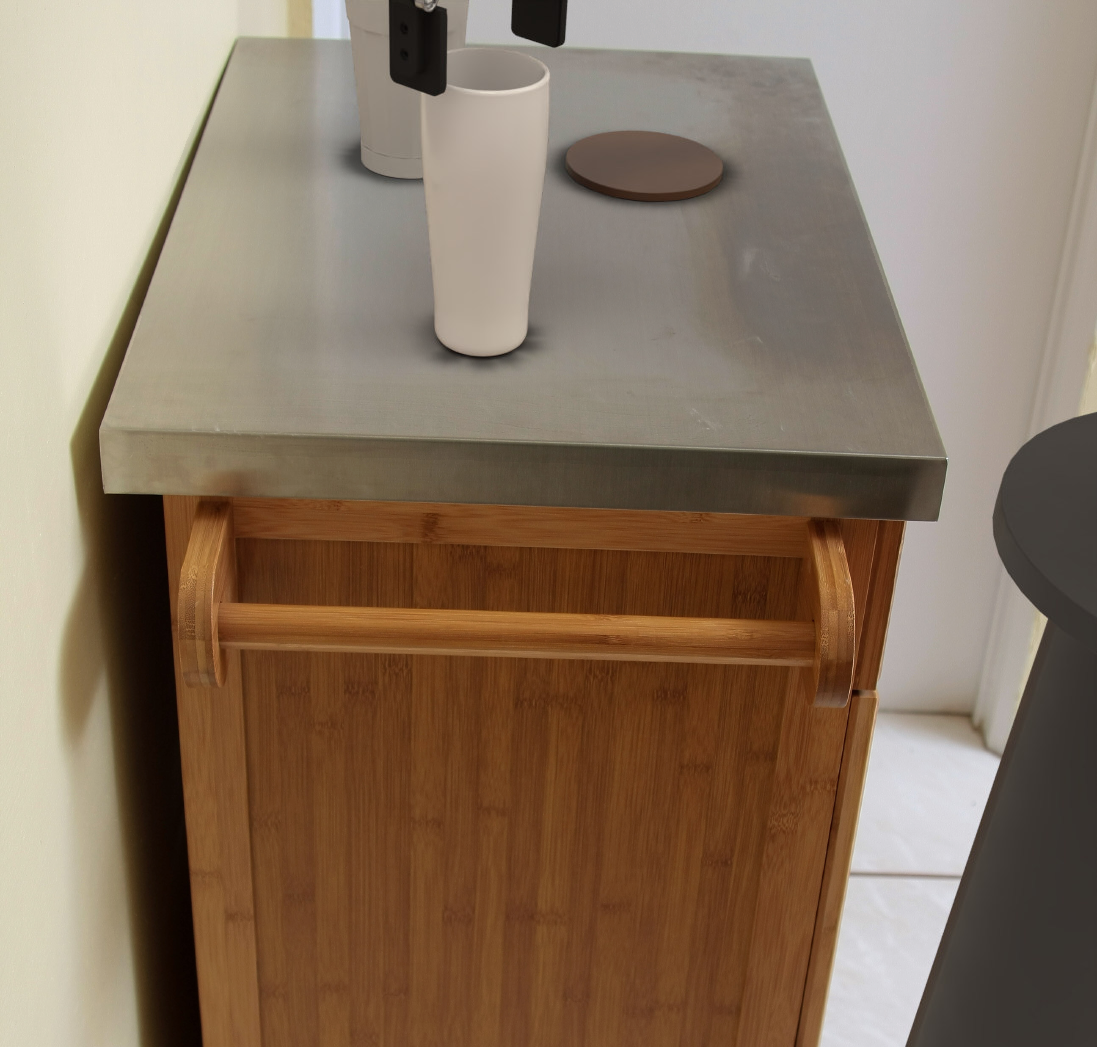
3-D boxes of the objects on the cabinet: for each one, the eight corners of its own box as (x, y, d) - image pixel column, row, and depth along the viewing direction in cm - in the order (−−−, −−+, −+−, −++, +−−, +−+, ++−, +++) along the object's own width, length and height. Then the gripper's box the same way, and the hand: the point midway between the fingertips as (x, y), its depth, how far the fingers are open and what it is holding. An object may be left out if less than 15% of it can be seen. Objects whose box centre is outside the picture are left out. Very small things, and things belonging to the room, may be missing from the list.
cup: (384, 127, 112) (379, -66, 103) (490, 150, 110) (493, -46, 101) (326, 168, 106) (315, -34, 97) (437, 192, 104) (435, -11, 95)
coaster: (751, 167, 110) (752, 159, 109) (665, 215, 103) (666, 206, 102) (624, 126, 114) (625, 118, 114) (534, 170, 107) (534, 161, 107)
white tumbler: (562, 349, 89) (577, 79, 79) (461, 378, 86) (464, 101, 76) (498, 301, 93) (505, 38, 82) (400, 327, 90) (395, 57, 80)
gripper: (428, -311, 61) (426, 130, 72) (671, -349, 71) (635, 41, 83) (288, -341, 64) (308, 87, 75) (541, -373, 74) (524, 7, 86)
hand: (479, 63), depth 79 cm, fingers open, 9 cm apart
